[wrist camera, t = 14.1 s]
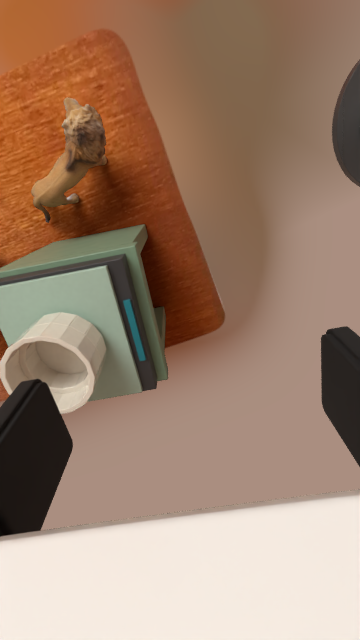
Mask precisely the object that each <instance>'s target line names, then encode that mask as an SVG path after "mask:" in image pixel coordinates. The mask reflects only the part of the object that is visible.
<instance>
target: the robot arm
mask: <svg viewBox="0 0 360 640" xmlns="http://www.w3.org/2000/svg"><path fill="white" fill-rule="evenodd" d="M321 369H322V370H321V371H322V405H323V408H324V411H325V413H326V414H327V416H328V418H329V419H330V420H331V422H332V424H333V426H334V427H335V429H336V430H337V432H338V433H339V435H340V436H341V438H342V439H343V441H344V443H345V444H346V446H347V448H348V449H349V451H350V452H351V454H352V455H353V457H354V459H355V460H356V462H357V463H358V465H359V466H360V337H359V336H358V335H357V334H356V333H355V332H353V331H352V330H351V329H350V328H348V327H340V328H334V329H329V330H327V332H326V334H325V335H322V337H321ZM72 447H73V443H72V439H71V436H70V434H69V432H68V430H67V428H66V425H65V423H64V420H63V419H62V416H61V414H60V411H59V409H58V407H57V405H56V402H55V400H54V398H53V395H52V393H51V391H50V389H49V386H48V384H47V383H46V382H42V381H41V380H40V379H33V380H28V381H22V382H20V383H19V385H18V386H17V387H16V388H15V390H14V391H13V392H12V393H11V395H10V396H9V397H8V398H7V400H6V401H5V402H4V404H3V405H2V406H1V407H0V640H360V490H350V491H341V492H332V493H323V494H315V495H307V496H299V497H291V498H284V499H276V500H268V501H260V502H252V503H244V504H237V505H228V506H220V507H212V508H205V509H197V510H189V511H182V512H174V513H167V514H159V515H152V516H144V517H136V518H129V519H122V520H114V521H107V522H100V523H92V524H85V525H78V526H70V527H63V528H56V529H49V530H42V531H40V530H41V527H42V525H43V522H44V520H45V517H46V515H47V512H48V510H49V507H50V505H51V502H52V500H53V497H54V495H55V492H56V490H57V487H58V485H59V482H60V480H61V477H62V474H63V472H64V469H65V467H66V464H67V462H68V459H69V457H70V454H71V452H72Z"/></svg>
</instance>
